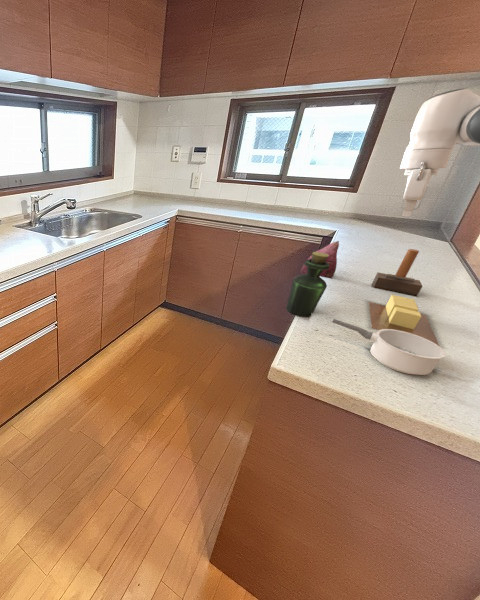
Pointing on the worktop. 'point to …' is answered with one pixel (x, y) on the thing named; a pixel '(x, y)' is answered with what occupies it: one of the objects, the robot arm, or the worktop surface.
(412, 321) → the butter slice
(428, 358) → the saucepan
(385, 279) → the dark brown rectangular block
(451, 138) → the robot arm
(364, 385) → the worktop surface
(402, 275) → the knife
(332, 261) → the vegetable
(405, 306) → the butter block
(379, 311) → the cutting board
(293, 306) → the potion bottle
